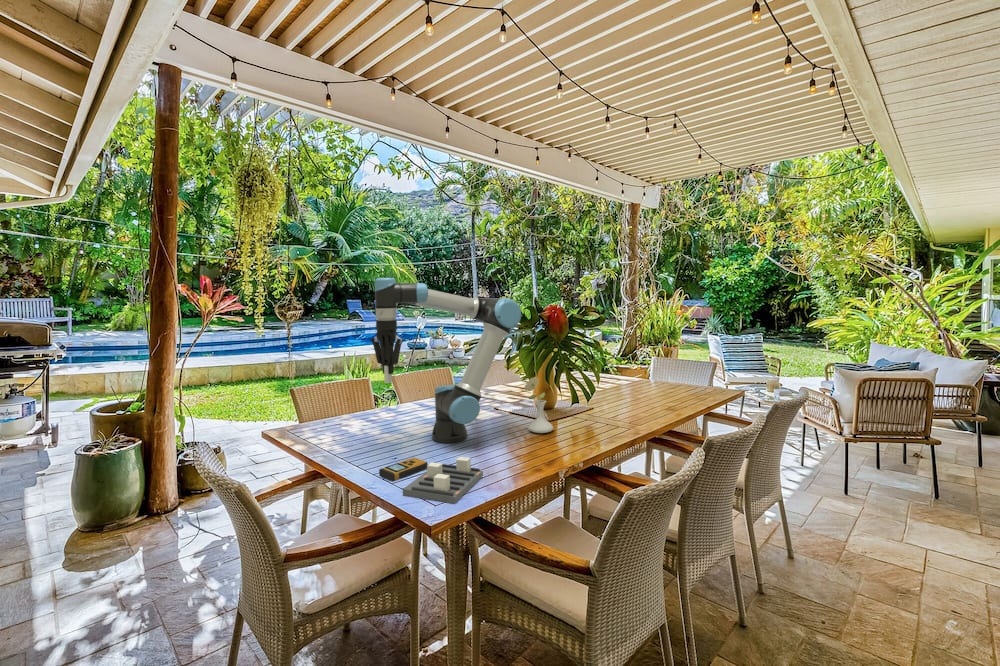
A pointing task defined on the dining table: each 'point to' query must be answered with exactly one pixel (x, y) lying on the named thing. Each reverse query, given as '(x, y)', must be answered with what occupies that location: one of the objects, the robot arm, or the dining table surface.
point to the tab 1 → (434, 469)
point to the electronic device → (403, 469)
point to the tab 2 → (442, 482)
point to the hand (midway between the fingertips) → (388, 382)
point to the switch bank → (458, 488)
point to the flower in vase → (540, 423)
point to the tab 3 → (463, 464)
